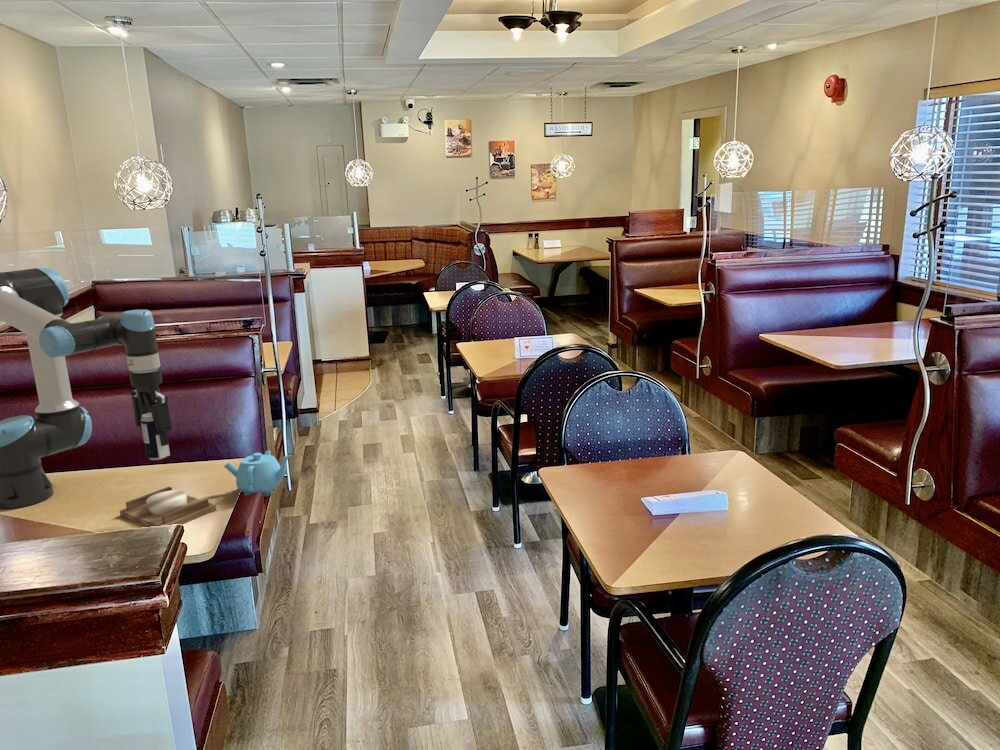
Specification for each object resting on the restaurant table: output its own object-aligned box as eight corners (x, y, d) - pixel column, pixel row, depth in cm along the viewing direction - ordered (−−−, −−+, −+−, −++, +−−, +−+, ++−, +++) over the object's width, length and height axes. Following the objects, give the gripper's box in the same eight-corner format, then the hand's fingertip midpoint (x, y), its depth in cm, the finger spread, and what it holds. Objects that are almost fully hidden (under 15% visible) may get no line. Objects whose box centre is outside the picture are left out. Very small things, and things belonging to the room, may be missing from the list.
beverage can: (160, 461, 203) (154, 417, 200) (141, 460, 204) (135, 417, 201) (174, 454, 208) (167, 411, 205) (155, 453, 209) (149, 410, 206)
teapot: (277, 477, 234) (273, 441, 231) (295, 490, 223) (291, 453, 220) (226, 490, 225) (221, 453, 222) (243, 504, 214) (238, 466, 212)
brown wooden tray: (120, 515, 210) (117, 500, 209) (173, 495, 222) (171, 480, 221) (163, 532, 199) (160, 516, 197) (216, 510, 211) (214, 494, 210)
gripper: (111, 369, 203) (125, 452, 208) (151, 377, 192) (164, 465, 198) (139, 363, 208) (151, 444, 214) (178, 370, 198) (190, 456, 203)
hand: (157, 454), depth 206 cm, fingers closed on beverage can, 6 cm apart
